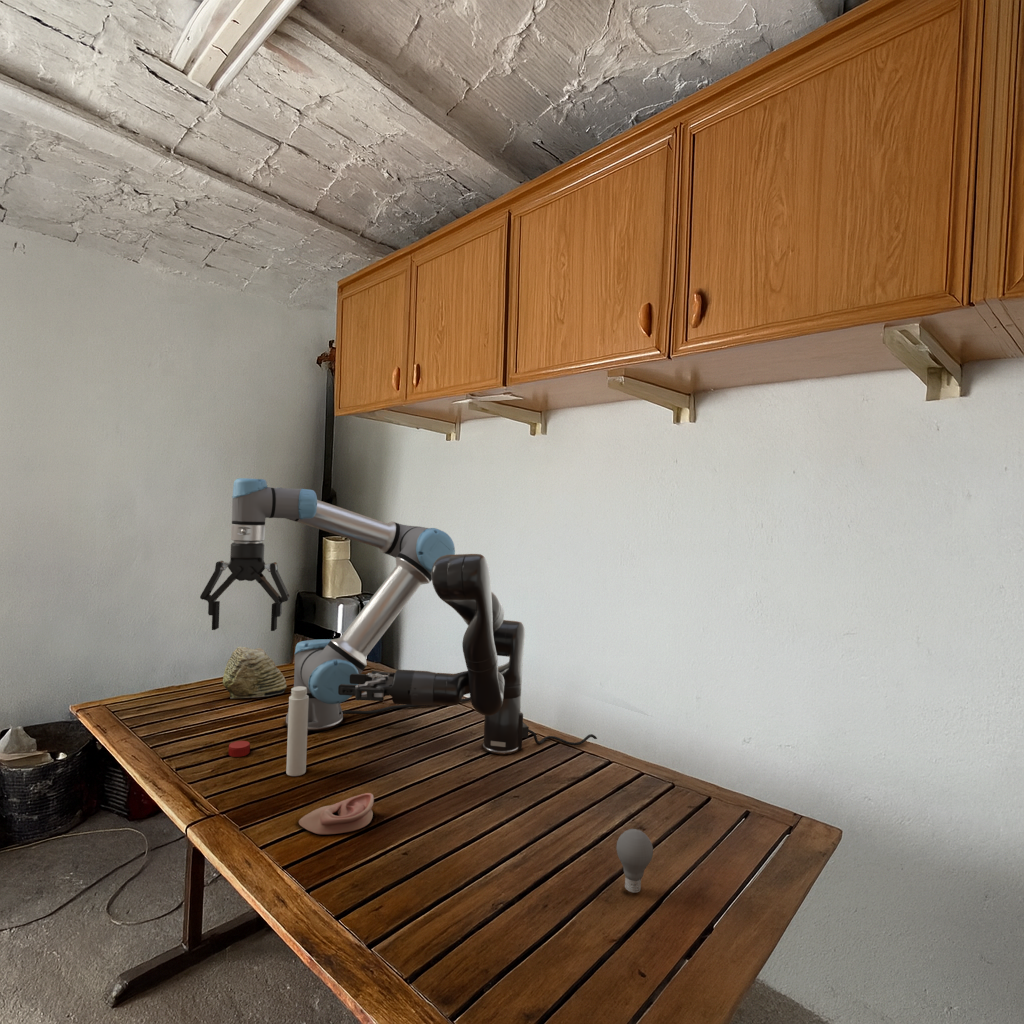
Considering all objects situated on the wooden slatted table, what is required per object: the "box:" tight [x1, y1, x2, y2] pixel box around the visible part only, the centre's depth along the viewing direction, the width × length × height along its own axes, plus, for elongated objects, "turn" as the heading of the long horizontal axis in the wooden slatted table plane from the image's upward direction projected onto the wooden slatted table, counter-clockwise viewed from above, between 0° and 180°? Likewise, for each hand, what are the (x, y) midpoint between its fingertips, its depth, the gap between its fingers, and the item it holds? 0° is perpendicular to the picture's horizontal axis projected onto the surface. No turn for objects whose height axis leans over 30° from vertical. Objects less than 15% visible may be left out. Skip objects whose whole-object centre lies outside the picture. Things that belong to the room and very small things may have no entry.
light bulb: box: [615, 828, 654, 894], centre depth 106 cm, size 6×6×10 cm
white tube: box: [285, 686, 309, 777], centre depth 145 cm, size 4×4×19 cm
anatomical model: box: [298, 792, 375, 835], centre depth 124 cm, size 13×4×12 cm
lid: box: [227, 740, 251, 758], centre depth 154 cm, size 5×5×2 cm
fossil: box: [222, 646, 288, 699], centre depth 198 cm, size 9×18×15 cm, turn 132°
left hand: (244, 629), depth 154 cm, fingers open, 13 cm apart
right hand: (344, 683), depth 143 cm, fingers open, 8 cm apart
